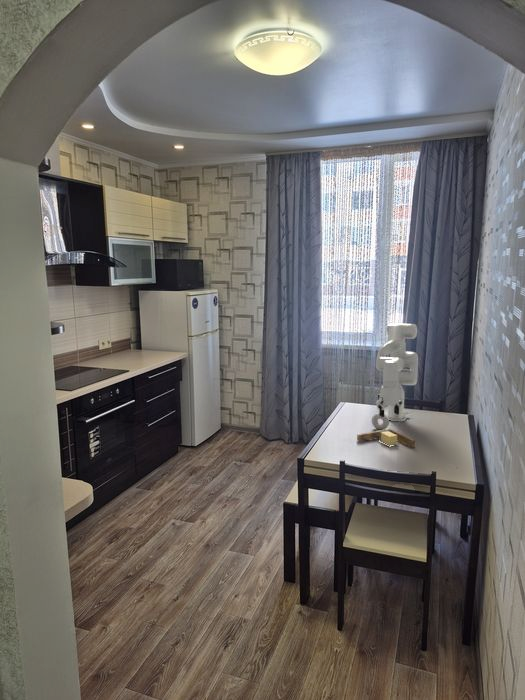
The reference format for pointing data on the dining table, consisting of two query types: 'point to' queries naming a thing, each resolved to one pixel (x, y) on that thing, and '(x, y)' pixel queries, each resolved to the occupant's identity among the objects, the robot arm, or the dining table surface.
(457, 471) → the dining table surface
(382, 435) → the bar block
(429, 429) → the dining table surface
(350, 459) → the dining table surface
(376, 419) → the donut
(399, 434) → the tan wooden angled piece
